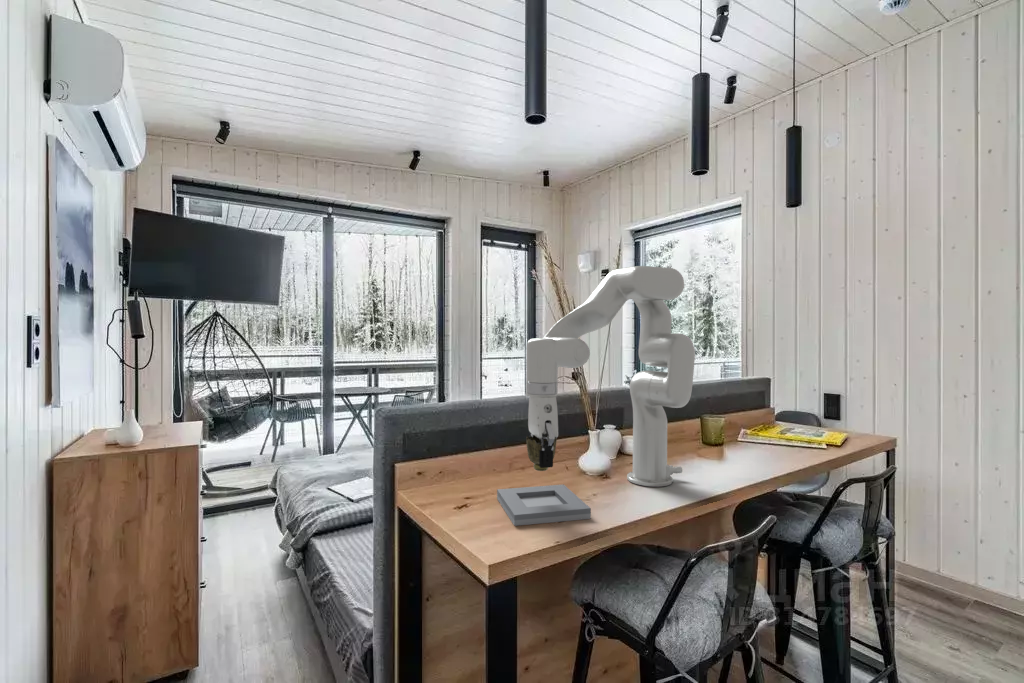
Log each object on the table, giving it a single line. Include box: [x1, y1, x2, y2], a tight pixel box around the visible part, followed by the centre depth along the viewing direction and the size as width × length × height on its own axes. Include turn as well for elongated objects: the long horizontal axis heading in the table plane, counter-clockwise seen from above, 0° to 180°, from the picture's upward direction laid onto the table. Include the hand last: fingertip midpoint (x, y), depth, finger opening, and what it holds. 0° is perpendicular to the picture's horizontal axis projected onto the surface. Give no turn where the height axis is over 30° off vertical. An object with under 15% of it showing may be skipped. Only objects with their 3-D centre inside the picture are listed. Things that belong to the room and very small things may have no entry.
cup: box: [525, 434, 558, 472], centre depth 118 cm, size 8×7×8 cm
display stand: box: [496, 484, 592, 527], centre depth 118 cm, size 18×18×2 cm
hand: (541, 462), depth 118 cm, fingers closed on cup, 7 cm apart
